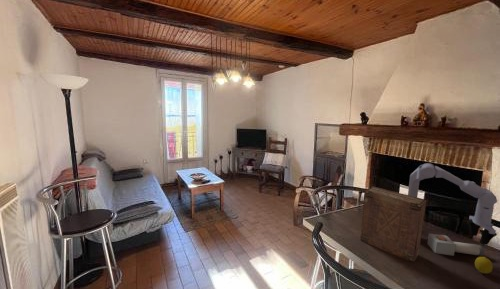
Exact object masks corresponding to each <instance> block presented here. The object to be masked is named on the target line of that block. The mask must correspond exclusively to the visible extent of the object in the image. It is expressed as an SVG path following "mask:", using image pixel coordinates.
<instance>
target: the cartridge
mask: <svg viewBox="0 0 500 289" xmlns="http://www.w3.org/2000/svg"><path fill="white" fill-rule="evenodd" d="M453 242H454V243H455V244H456V246H455V252H454V253H459V254H460V253H461V254H466V255H467V254H468V255H474V256H478V257H485V256H484V255H486V254H485V252H486V251H485V248H484V246H482V244H476V243H475V244H474V243H466V242H459V241H453Z"/></svg>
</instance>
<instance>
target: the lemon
mask: <svg viewBox="0 0 500 289" xmlns="http://www.w3.org/2000/svg"><path fill="white" fill-rule="evenodd" d="M474 267H475V268H476V270H477V271H478V272H480V273H481V274H490V273H491V272H492V271H493V263H492V261H491V260H490V259H489V258H487V257H486V256H478V257H476V259H475V261H474Z"/></svg>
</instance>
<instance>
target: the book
mask: <svg viewBox="0 0 500 289" xmlns="http://www.w3.org/2000/svg"><path fill="white" fill-rule="evenodd" d="M426 206H427V199H425V198H420V197H418V196H417V197H413V196H409V195H408V194H404V193H400V192H396V191H392V190H388V189H384V188H381V187H376V186H370V189H365V190H364V195H363V207H362V208H363V209H362V217H361V218H362V219H361V231H360V242H361V241H362V242H364V243H365V244H369V245H371V246H373V247H375V248H378V249H380V250H381V251H382V250H383V251H385V252H386V253H389V254H392V255H394V256H396V257H399V258H401V259H403V260H405V261H408V262H410V263H413V264H414V263H415V261H416V259H417V258H418V256H419V255H420V247H421V242H422V241H421V240H422V235H423V228H424V221H425V220H424V219H425V213H426Z"/></svg>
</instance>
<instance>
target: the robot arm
mask: <svg viewBox="0 0 500 289" xmlns="http://www.w3.org/2000/svg"><path fill="white" fill-rule="evenodd" d="M434 177H435V178H436V179H437V178H441V179H442V178H443V179H445V180H447V181H449V182H450V183H453V184H455V185H456V186H458V187H459V188H460V190H461V191H462V192H464V193H466V194H468V195H470V196H472V197H473V198H475V199H477V204H476V206H475V212H474V215H469V218H468V219H469V220H466V223H467V224H468V227H469V232H470V236H473V237H477V235H478V233H480V238H481V239H480V242H481V243H480V244H481V245H488V244H489V243H490V242H491V241H492V239H493V238H494V237H496V236H498V234H497V232H496V231H497V230H496V229H495V228H494V227H493V226H494V224H493V223H492V219H493V213H494V209H495V208H494V206H495V204H496V203H498V200H497V196H496V195H495V193H493V191H491V190H490V189H488V188H486V187H481V186H480V185H478V184H476V182H474V181H470V180H463V179H461V178H459V177H458V176H455V175H454V174H452V173H451V172H449V171H447V170H445V169H443V168H441V167H439V166H437V165H434V164H433V163H430V162H429V163H428V162H426V163H423V164H420V165H419V166H418V167H417V168H415V170H414V171H413V172H411V173H410V175H409V182H408V183H409V184H408V192H407V195H409V196H413V197H417V198H418V196H419V194H418V193H419V186H420V181H422V180H425V179H431V178H434ZM481 228H483V229H481Z"/></svg>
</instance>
